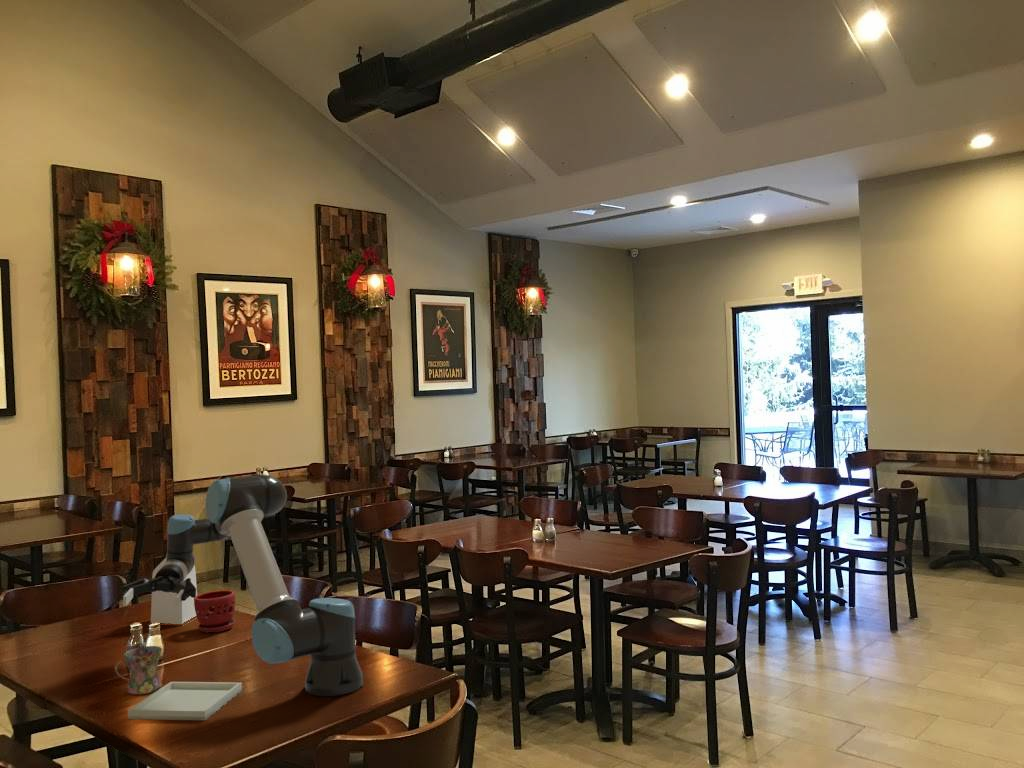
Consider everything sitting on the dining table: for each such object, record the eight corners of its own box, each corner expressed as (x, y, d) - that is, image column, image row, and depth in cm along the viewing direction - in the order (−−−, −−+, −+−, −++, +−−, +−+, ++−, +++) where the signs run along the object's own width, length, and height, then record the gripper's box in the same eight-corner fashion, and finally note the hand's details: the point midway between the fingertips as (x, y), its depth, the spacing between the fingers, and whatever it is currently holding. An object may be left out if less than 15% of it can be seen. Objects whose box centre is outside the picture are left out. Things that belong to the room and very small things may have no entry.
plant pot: (231, 621, 293) (230, 587, 293) (239, 630, 281) (238, 594, 281) (191, 628, 286) (190, 593, 286) (198, 637, 275) (197, 600, 275)
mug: (154, 682, 232) (153, 643, 232) (168, 690, 225) (167, 650, 225) (109, 694, 223) (108, 654, 223) (122, 702, 216) (121, 661, 217)
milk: (168, 616, 303) (166, 544, 303) (198, 616, 301) (196, 544, 302) (150, 625, 291) (148, 550, 291) (182, 625, 289) (180, 550, 290)
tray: (242, 690, 223) (241, 682, 223) (205, 720, 203) (205, 711, 203) (171, 689, 225) (171, 681, 225) (128, 718, 205) (127, 709, 205)
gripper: (213, 589, 253) (197, 616, 232) (126, 587, 249) (102, 614, 228) (214, 565, 252) (198, 589, 231) (127, 562, 248) (102, 587, 227)
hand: (150, 601), depth 229 cm, fingers open, 13 cm apart
